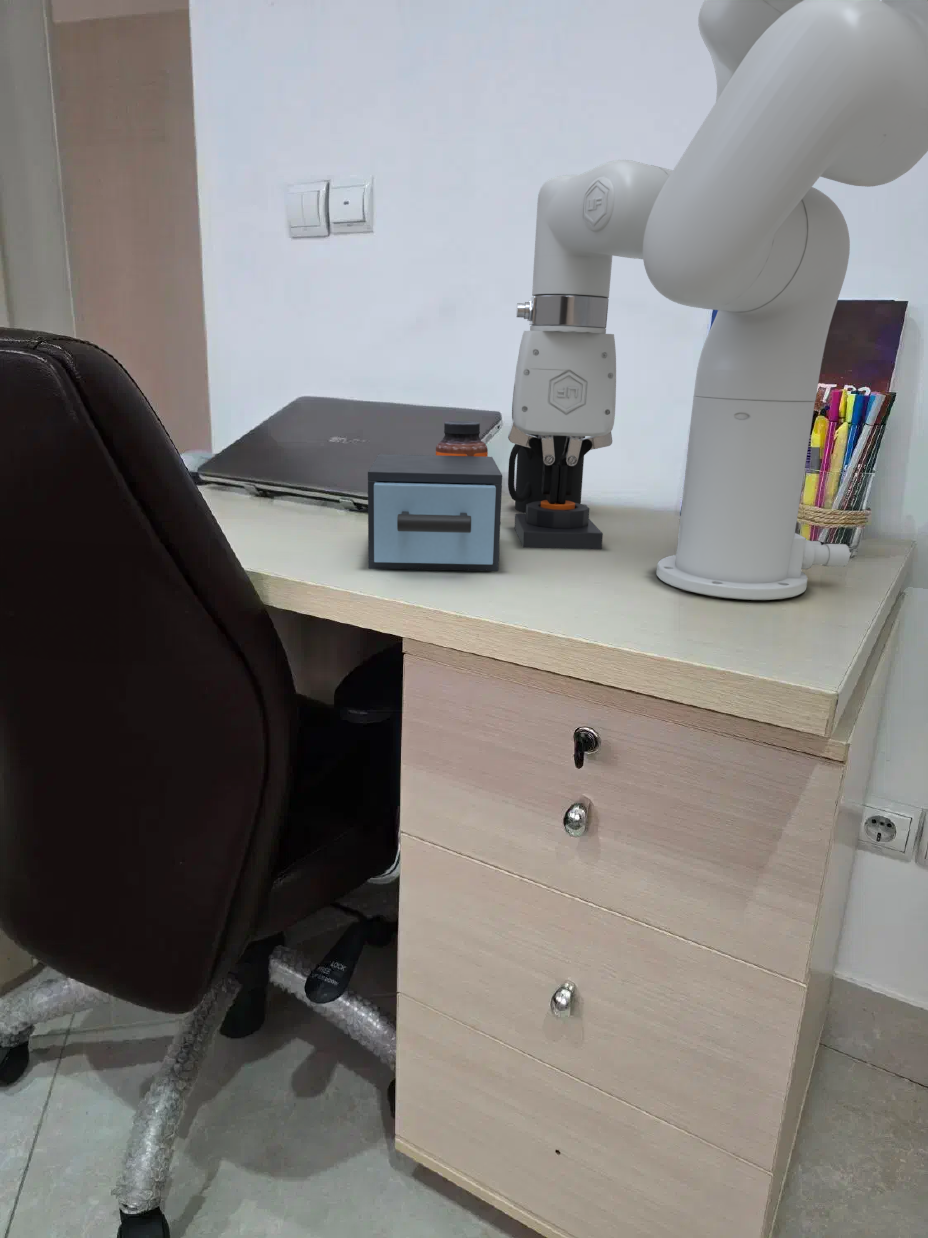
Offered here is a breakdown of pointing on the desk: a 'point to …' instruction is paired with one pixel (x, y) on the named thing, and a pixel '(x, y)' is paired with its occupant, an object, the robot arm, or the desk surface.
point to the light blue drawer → (434, 522)
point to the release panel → (557, 528)
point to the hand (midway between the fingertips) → (555, 501)
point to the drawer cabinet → (437, 472)
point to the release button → (558, 505)
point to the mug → (538, 475)
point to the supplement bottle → (461, 440)
